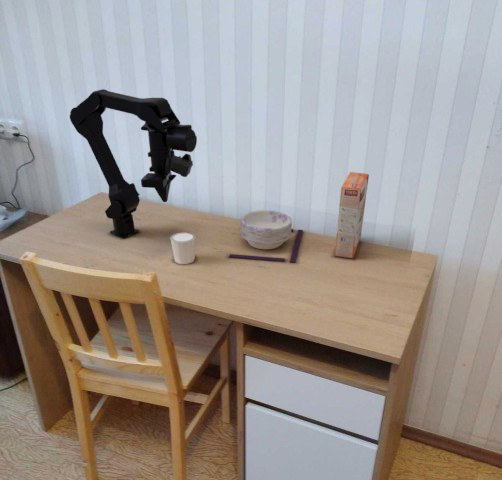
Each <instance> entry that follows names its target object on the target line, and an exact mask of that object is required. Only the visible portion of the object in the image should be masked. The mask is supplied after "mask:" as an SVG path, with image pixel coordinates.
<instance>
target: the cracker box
mask: <svg viewBox="0 0 502 480" xmlns="http://www.w3.org/2000/svg"><path fill="white" fill-rule="evenodd" d="M369 179H370V174H369V173H364V172H354V171H353V172H352V171H350V172H349V173H348V174H347V177H346V178H345V179H344V182H343V183H342V185H341V186H340V196H339V203H338V204H339V205H338V215H337V227H336V234H335V235H336V236H335V245H334V255H333V256H334V257H338V258H345V259H354V257H355V254H356V253H357V250H358V247H359V245H360V242H361V239H362V232H363V231H362V230H363V222H364V215H365V208H366V199H367V194H368V192H367V191H368V186H369V185H368V184H369Z"/></svg>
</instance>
